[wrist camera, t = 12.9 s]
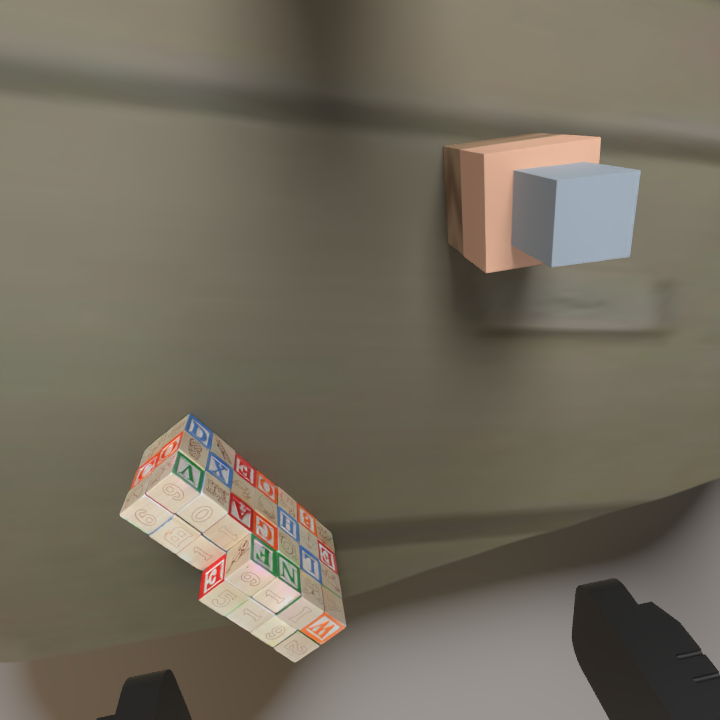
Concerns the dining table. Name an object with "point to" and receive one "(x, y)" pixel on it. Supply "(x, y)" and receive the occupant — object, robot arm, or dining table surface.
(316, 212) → the dining table surface
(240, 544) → the stack of blocks
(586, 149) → the tower top
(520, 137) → the tower base
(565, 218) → the slate block
